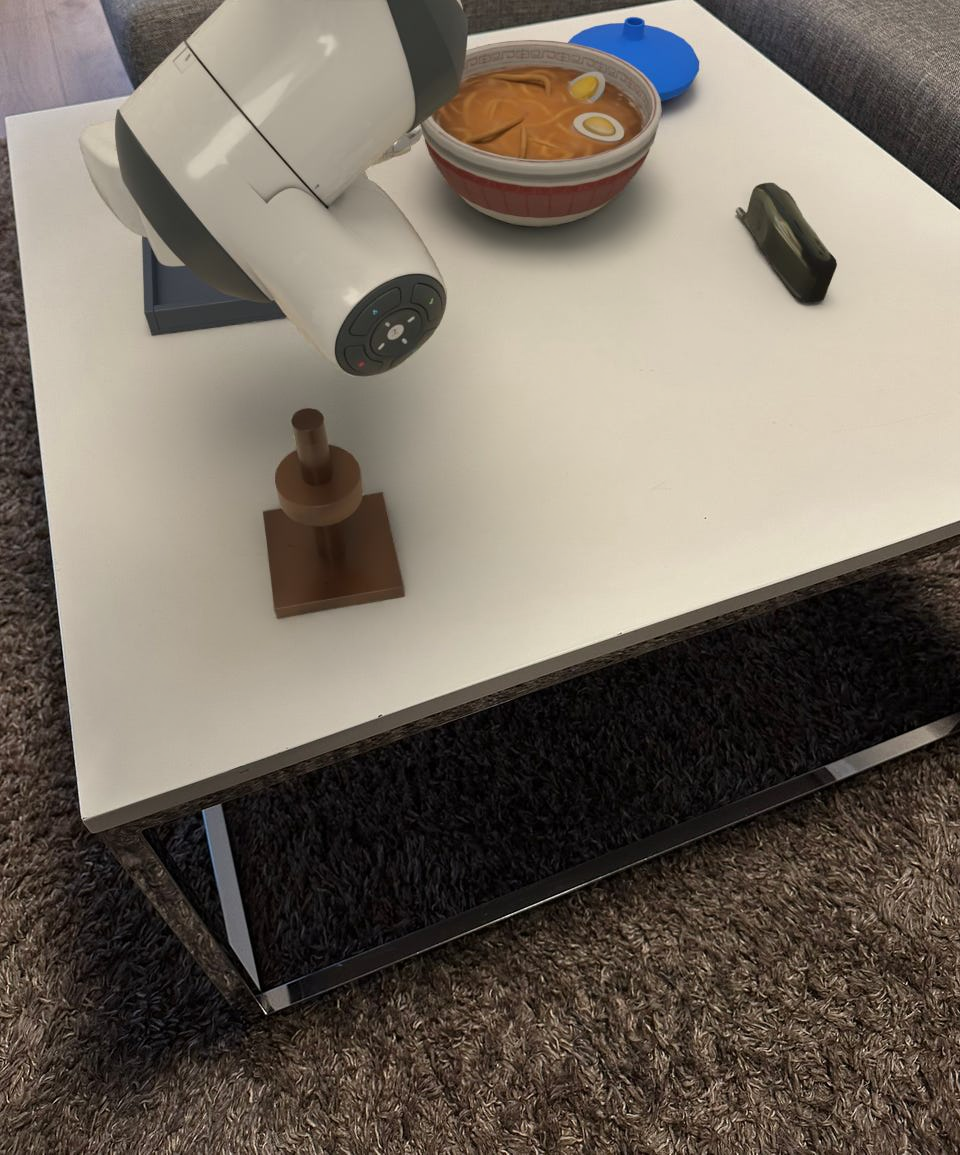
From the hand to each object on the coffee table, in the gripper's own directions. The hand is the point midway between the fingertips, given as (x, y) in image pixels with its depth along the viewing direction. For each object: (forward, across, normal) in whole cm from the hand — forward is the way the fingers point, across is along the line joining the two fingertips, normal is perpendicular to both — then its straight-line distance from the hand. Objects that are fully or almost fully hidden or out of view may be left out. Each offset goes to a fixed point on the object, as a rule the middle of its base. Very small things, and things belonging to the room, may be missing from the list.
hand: (207, 84), depth 66 cm
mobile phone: (-12, -47, +22) cm, 54 cm away
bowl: (+8, -32, +22) cm, 40 cm away
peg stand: (-25, +4, +22) cm, 34 cm away
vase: (+22, -53, +22) cm, 61 cm away
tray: (+10, -2, +22) cm, 24 cm away
